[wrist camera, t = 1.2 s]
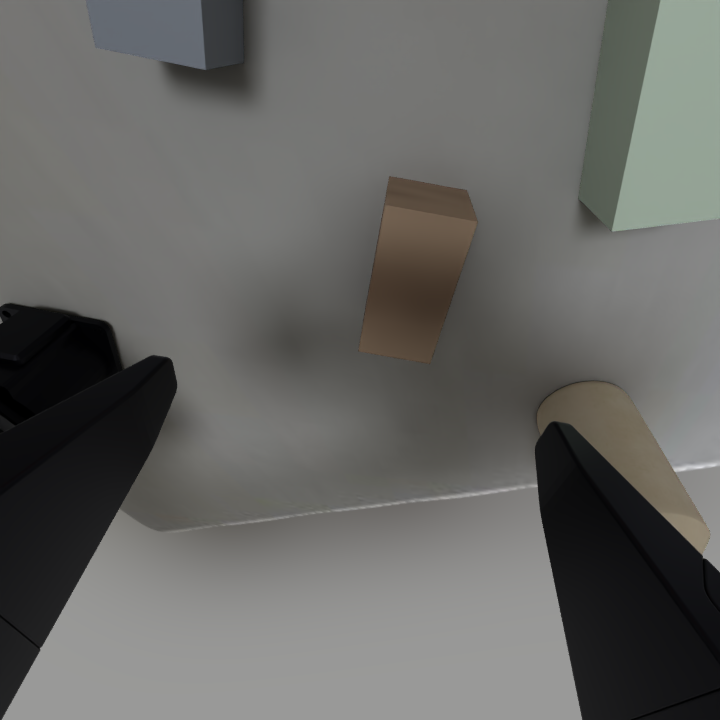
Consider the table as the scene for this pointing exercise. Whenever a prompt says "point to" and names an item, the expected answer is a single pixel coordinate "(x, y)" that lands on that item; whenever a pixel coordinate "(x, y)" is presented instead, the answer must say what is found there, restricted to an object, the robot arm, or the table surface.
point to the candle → (626, 449)
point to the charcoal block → (171, 30)
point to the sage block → (655, 116)
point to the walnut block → (416, 268)
